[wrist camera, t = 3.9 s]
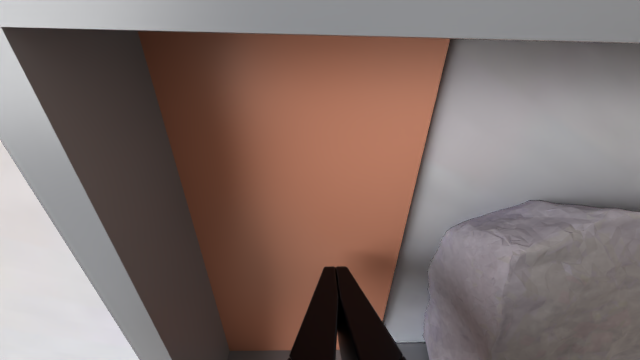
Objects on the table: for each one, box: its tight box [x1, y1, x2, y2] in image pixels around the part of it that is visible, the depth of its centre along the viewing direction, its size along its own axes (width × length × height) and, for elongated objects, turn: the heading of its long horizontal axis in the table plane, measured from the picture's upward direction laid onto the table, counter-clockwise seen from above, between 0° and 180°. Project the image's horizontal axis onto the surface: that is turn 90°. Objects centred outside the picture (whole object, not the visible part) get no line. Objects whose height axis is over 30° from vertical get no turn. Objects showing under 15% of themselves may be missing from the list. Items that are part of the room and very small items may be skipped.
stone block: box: [423, 200, 640, 360], centre depth 11 cm, size 12×5×10 cm
